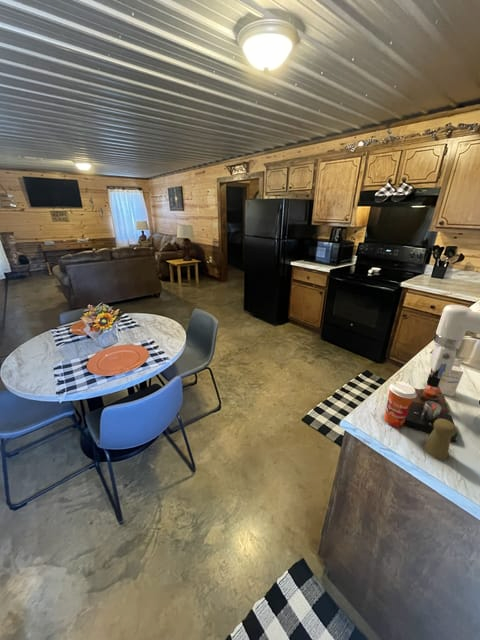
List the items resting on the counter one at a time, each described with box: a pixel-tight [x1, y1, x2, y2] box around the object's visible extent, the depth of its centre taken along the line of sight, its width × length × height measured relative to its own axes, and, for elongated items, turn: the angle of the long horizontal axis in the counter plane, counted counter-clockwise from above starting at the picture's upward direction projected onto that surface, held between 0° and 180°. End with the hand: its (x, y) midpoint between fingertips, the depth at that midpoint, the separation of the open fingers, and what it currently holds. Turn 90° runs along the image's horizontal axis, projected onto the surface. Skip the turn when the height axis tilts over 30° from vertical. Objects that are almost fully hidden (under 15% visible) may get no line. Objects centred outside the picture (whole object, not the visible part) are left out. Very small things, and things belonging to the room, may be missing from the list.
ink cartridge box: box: [426, 357, 464, 397], centre depth 104 cm, size 9×5×15 cm, turn 65°
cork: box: [423, 419, 457, 461], centre depth 77 cm, size 6×6×11 cm
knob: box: [421, 401, 441, 422], centre depth 87 cm, size 4×4×5 cm
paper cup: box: [384, 381, 417, 428], centre depth 88 cm, size 8×8×14 cm
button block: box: [412, 387, 450, 414], centre depth 99 cm, size 12×10×4 cm
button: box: [423, 387, 436, 398], centre depth 98 cm, size 4×4×2 cm
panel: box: [403, 404, 459, 443], centre depth 89 cm, size 14×10×3 cm
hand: (431, 384), depth 97 cm, fingers closed
